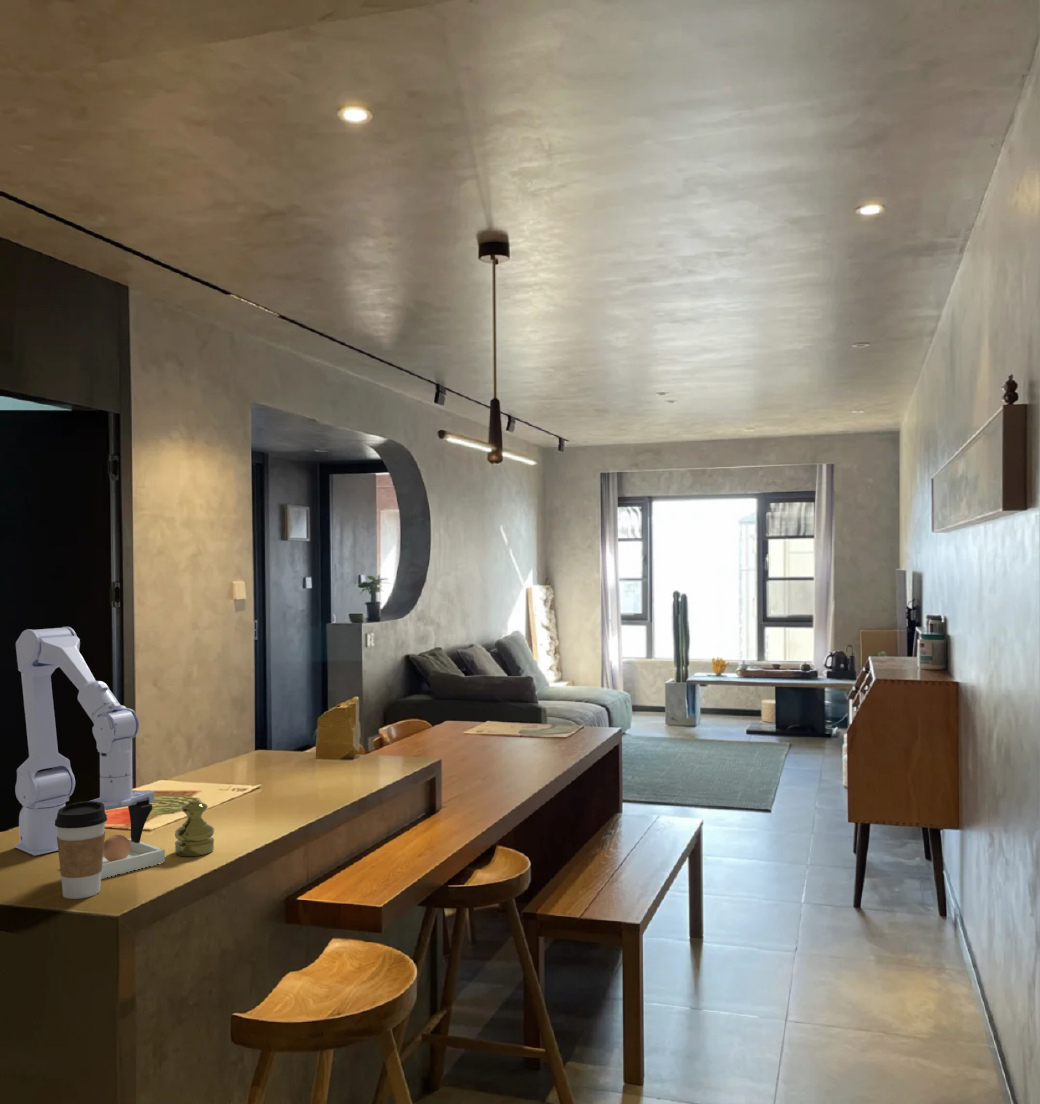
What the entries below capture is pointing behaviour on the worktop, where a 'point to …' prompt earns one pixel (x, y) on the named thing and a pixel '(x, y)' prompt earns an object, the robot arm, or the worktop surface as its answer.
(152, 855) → the tray
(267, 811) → the worktop surface
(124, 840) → the ball
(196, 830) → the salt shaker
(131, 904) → the worktop surface
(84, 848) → the coffee cup
